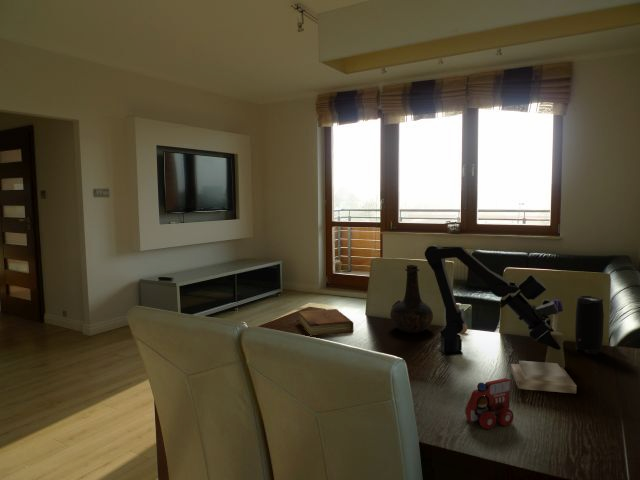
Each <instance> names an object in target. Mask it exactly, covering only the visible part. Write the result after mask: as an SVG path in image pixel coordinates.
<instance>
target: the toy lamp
mask: <svg viewBox="0 0 640 480" xmlns="http://www.w3.org/2000/svg"><path fill="white" fill-rule="evenodd" d="M552 301H553V302H554V303H555V305H556V307H557V309H558V313H557V314H552V324H551V327H552V328H553V330H554V331H555V332H558V321H559V313H562V312H563V311H564V308H563V304H562V301H561V300H560V299H555V298H553V299H551V302H552Z"/></svg>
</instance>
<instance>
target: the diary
mask: <svg viewBox="0 0 640 480" xmlns="http://www.w3.org/2000/svg"><path fill="white" fill-rule="evenodd" d="M298 314H299V317H300V321H298V323H299V324H300V326H301V325H302V326H303V327H304V328H303V327H302V326H301V327H302V328H303V329H304V330H308V332H309V333H310V334H311V335H314V334H316V335H321V336H329V335H328V334H333V335H341V334H342V335H344V334H353V333H354V327H355V326H354V322H353V320H351V319H350V318H349V317H347V316H346V315H345V314H343V313H342V312H341V311H340V310H338V308H330V309H320V310H319V309H318V310H306V311H303V310H302V311H298ZM343 333H344V334H343Z"/></svg>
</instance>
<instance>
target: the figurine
mask: <svg viewBox="0 0 640 480" xmlns="http://www.w3.org/2000/svg"><path fill="white" fill-rule="evenodd" d="M457 306H458V307H459V308H460V304H457ZM467 331H468V325H467V324H466V325H465V327H464V328H463V330H462V331H461V332H460V333H461V334H464V333H466V332H467Z"/></svg>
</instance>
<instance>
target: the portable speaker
mask: <svg viewBox="0 0 640 480" xmlns="http://www.w3.org/2000/svg"><path fill="white" fill-rule="evenodd" d="M604 313H605V312H604V299H603V298H602V297H595V296H591V295H579V296H578V297H577V300H576V307H575V321H574V322H575V325H574V326H575V328H574V329H575V330H574V331H575V336H574V337H575V350H576V351H579V350H580V351H582V352H584V353H585V354H587V355H598V354H599V353H600V352H601V351H602V349H603V348H602V346H603V340H604V339H603V338H604V323H605V322H604V317H605V314H604Z"/></svg>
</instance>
